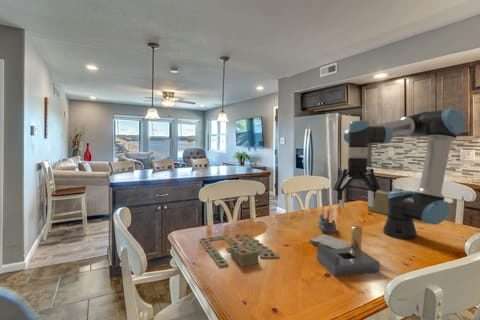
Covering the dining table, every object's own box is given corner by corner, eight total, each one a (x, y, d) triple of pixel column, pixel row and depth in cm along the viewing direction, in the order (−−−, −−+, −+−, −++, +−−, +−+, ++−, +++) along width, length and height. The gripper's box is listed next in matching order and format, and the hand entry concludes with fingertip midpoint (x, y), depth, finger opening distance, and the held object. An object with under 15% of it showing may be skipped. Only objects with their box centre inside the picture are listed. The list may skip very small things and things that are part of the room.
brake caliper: (341, 230, 138) (326, 211, 140) (323, 241, 142) (309, 222, 143) (340, 224, 149) (327, 206, 151) (324, 234, 152) (311, 216, 154)
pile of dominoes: (282, 259, 111) (282, 246, 111) (221, 272, 100) (221, 258, 100) (247, 233, 143) (247, 223, 142) (198, 241, 132) (197, 230, 132)
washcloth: (322, 238, 135) (322, 232, 135) (355, 249, 121) (355, 243, 121) (307, 243, 128) (307, 237, 128) (340, 256, 114) (340, 249, 114)
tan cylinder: (357, 252, 117) (358, 225, 116) (362, 256, 113) (363, 228, 112) (349, 252, 116) (349, 226, 115) (354, 256, 112) (355, 229, 112)
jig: (356, 256, 113) (357, 240, 112) (379, 272, 99) (379, 254, 98) (317, 259, 109) (317, 243, 109) (334, 276, 96) (335, 257, 95)
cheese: (406, 217, 171) (407, 194, 170) (396, 219, 167) (397, 195, 166) (376, 209, 191) (377, 189, 190) (366, 211, 187) (367, 190, 186)
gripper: (334, 158, 107) (333, 209, 108) (390, 157, 111) (388, 207, 112) (325, 157, 114) (324, 205, 115) (378, 156, 118) (376, 203, 119)
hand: (356, 206), depth 114 cm, fingers open, 13 cm apart
